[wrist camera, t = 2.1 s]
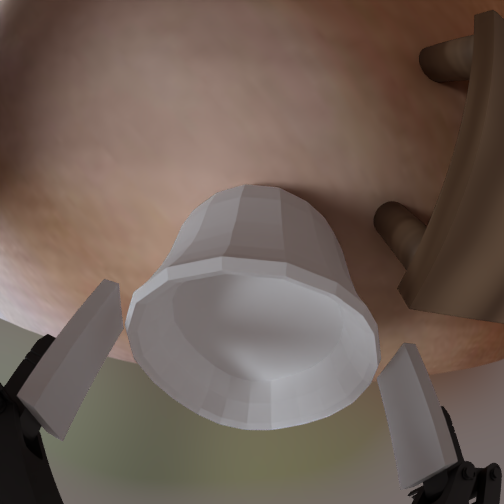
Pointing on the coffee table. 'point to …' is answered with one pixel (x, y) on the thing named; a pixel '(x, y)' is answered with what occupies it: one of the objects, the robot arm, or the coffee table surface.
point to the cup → (255, 315)
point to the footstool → (461, 191)
